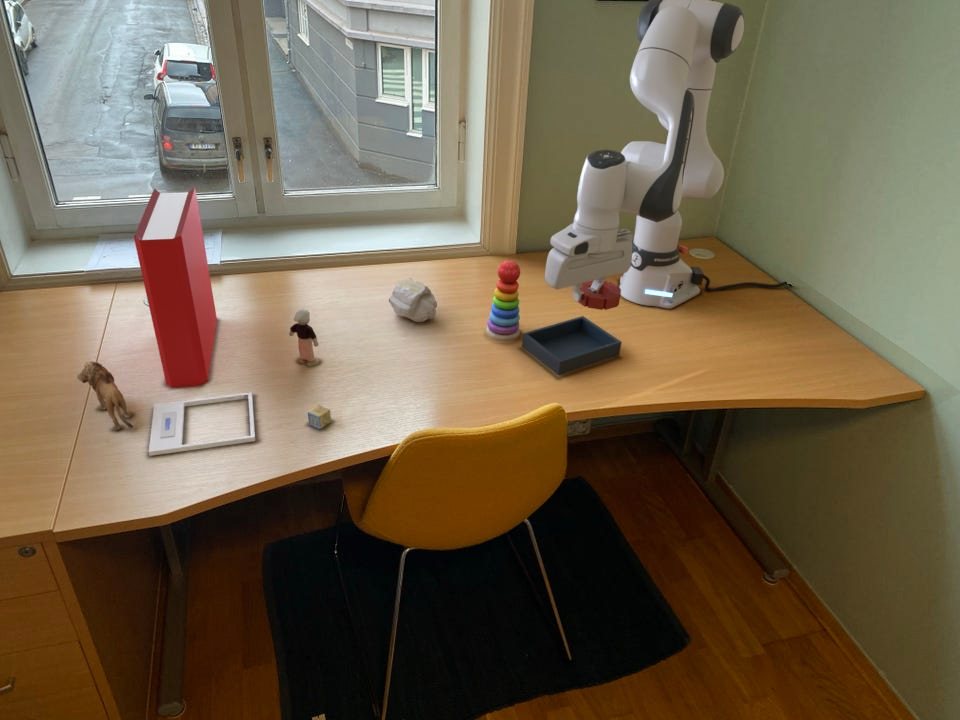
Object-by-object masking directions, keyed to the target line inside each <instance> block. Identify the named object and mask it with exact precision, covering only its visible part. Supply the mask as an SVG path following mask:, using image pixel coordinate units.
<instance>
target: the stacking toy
mask: <svg viewBox="0 0 960 720" xmlns="http://www.w3.org/2000/svg"><path fill="white" fill-rule="evenodd" d="M497 276H498V278H499V280H498V281H497V282H496V288H495V289H494V292H493V293H494V296H493V298H492V304H491V308H490V310H491V311H490V313H489V318H488V320H487V322H486V324H487V325H486V328H485V333H486V336H488V337H489V338H490V339H492V340H495V341H498V342H499V341H500V342H511V341H514V340H517V339H518V338H519V337H520V335H521V330H520V319H521V317H520V306H519V305H520V299H519V291H518V290H519V287H520V284H519V281H517V280H519V278H520V276H521V268H520V265H519V263H517V262H516V261H513V260H505V261H503V262H501V263H500V264H499V266H498V268H497Z"/></svg>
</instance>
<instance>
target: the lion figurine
mask: <svg viewBox="0 0 960 720" xmlns="http://www.w3.org/2000/svg"><path fill="white" fill-rule="evenodd" d="M83 366H84V368H83V369H82V370H81V372H80V373H79V374H78V375H77V376H76V378H77V379H78V381H80V382H82V383H83V384H87V383H88V385H89V386H91V388H92V390H93V391H94V392H95V394H96V398H97V400H98V401H99V404H100V405H99V406H98V409H99V410H100V411H104V410H107V413H108V415H109V417H110V418H111V420H112V423H113V424H114V425H113V430H114V431H118V430H120V429H121V425H120V423H119V420H118V418H119V419H120V420H121V421H122V422H123V423H124V424H125V425H126V426H127V427H128V428H129V429H134V425H133V424H132V423H130V421H129V422H128V420H126V418H127V419H128V418H131V417H132V413H131V412H129V411H128V408H127V403H126V400H125V398H124V396H123V393H121V391H120V389H119V387H118V385H116V383H115V377H114V376H113V374H112V372H110V371H109V370H108V369H107V368H106V367H105V366H103V365H102V364H101V363H99V362H97V361H93V360H92V361H87V362H85V363H84V365H83ZM115 410H116V413H117V415H118V418H117V417H116V415H115ZM121 410H122V412H121ZM123 415H124V416H123Z"/></svg>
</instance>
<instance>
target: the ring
mask: <svg viewBox="0 0 960 720" xmlns="http://www.w3.org/2000/svg"><path fill="white" fill-rule="evenodd" d="M592 283H593V281H590V282H586V283H583V284H582V287H581V288H580V290H581V292H583V293H585V295H584V300H582V301H578V302H577V303H578V304H580V305H582V306H583V307H584V308H586V307H587V308H588V309H593V310H601V311H603V310H605V311H606V310H607V311H608V310H610V309H615V308H617V307H618V306H619V304H620V299H621V295H620V294H621V289H620V287H619V286H618V285H616V284H615V283H613V282H611V281H608V280H605V281H604V283H603V285H602V286H601V288H600V289H599V291H598V294H597V293H593V292H591V291H589V290H588V288H589V287H591V285H592Z"/></svg>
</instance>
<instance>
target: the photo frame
mask: <svg viewBox="0 0 960 720" xmlns="http://www.w3.org/2000/svg"><path fill="white" fill-rule="evenodd" d="M247 399H248V412H249V431H250V432H249V433H250V435H244V436H237V437H229V438H222V439H215V440H208V441H201V442H200V441H199V442H194V443H187V444H183V437H184V420H185V407H190V406H191V407H192V406H199V405H206V404H215V403H222V402H230V401H238V400H247ZM253 402H254V401H253V392H252V391H251V392H243V393H234V394H225V395H219V396H210V397H203V398H202V397H201V398H194V399H188V400H187V399H186V400H177V401H170V402H162V403H154V404H153V411H152V420H151V427H150V428H151V429H150V438H149V445H148V456H149V457H151V456H159V455H166V454H172V453H179V452H187V451H194V450H200V449H208V448H216V447H222V446H223V447H224V446H229V445H237V444H244V443H245V444H246V443H251V442H256V432H255V431H256V430H255V417H254V416H255V415H254V403H253Z"/></svg>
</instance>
